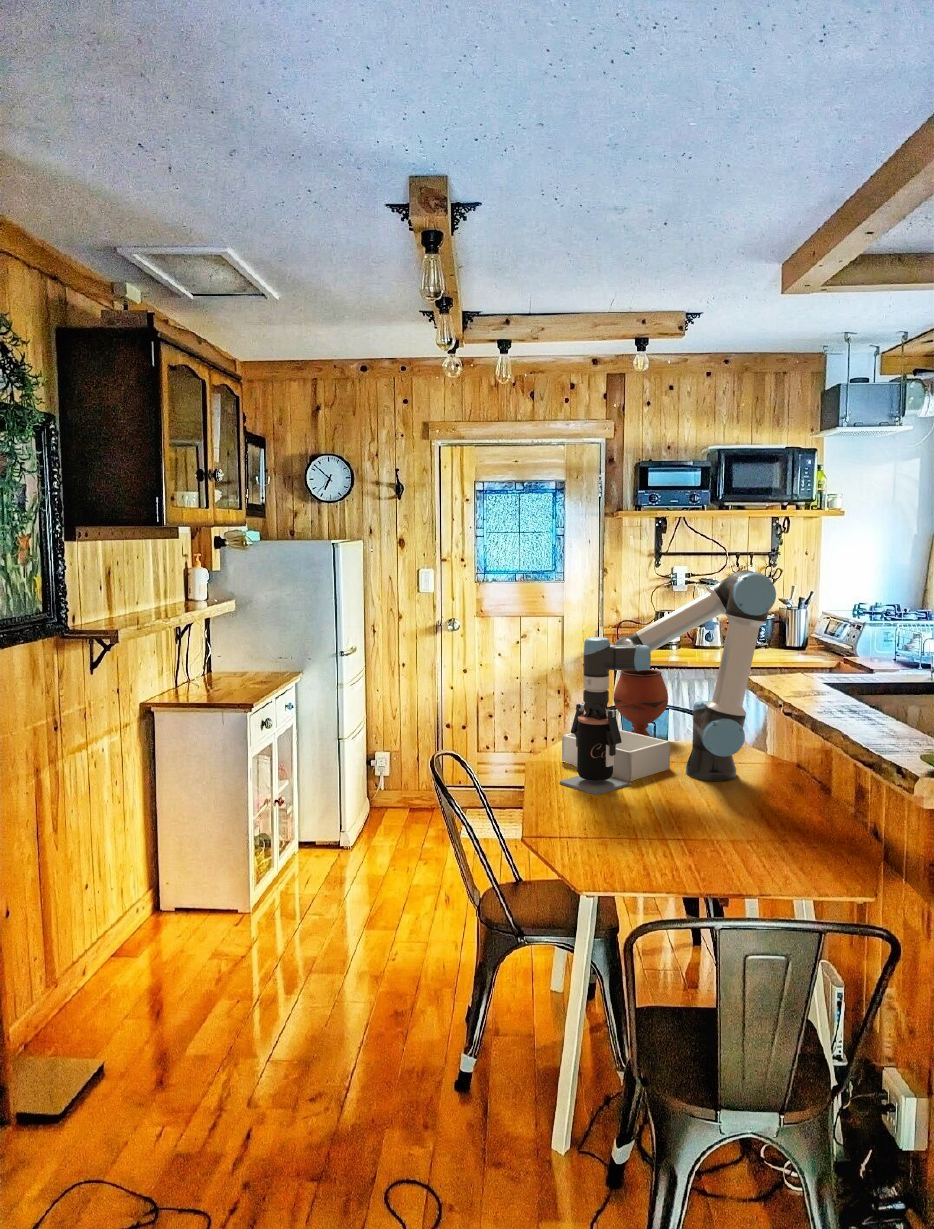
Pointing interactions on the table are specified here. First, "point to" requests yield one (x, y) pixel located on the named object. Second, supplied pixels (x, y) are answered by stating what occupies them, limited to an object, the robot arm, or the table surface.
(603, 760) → the coffee jar
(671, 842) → the table surface
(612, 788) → the mat
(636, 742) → the crate
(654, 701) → the goblet
